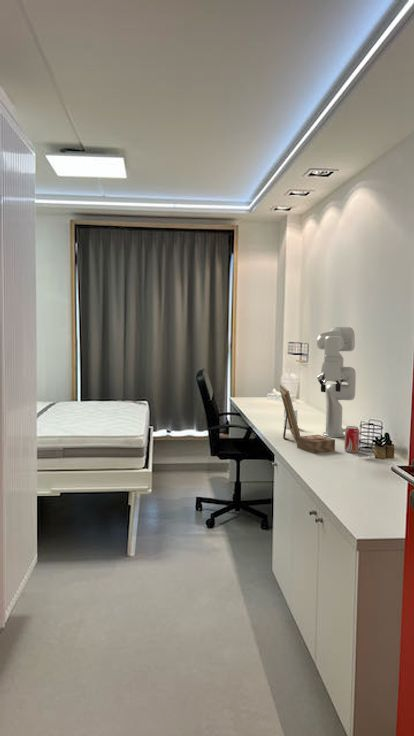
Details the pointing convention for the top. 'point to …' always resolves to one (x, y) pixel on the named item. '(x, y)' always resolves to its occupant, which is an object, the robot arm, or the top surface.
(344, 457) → the top surface
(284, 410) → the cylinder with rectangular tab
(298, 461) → the top surface
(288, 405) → the picture frame
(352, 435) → the soda can
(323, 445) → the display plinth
